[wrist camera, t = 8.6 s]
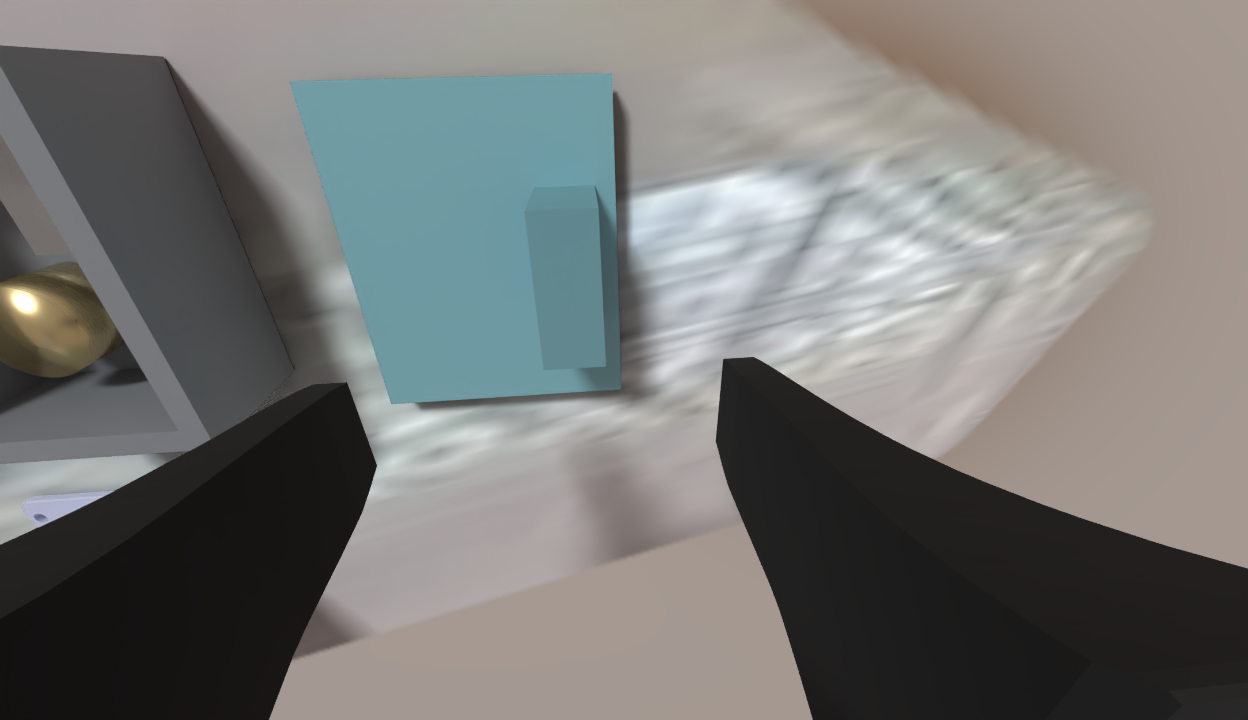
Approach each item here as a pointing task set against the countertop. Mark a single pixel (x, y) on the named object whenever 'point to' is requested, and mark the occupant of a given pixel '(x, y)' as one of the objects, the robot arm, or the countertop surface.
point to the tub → (130, 263)
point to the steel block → (27, 207)
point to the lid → (476, 228)
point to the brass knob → (54, 322)
